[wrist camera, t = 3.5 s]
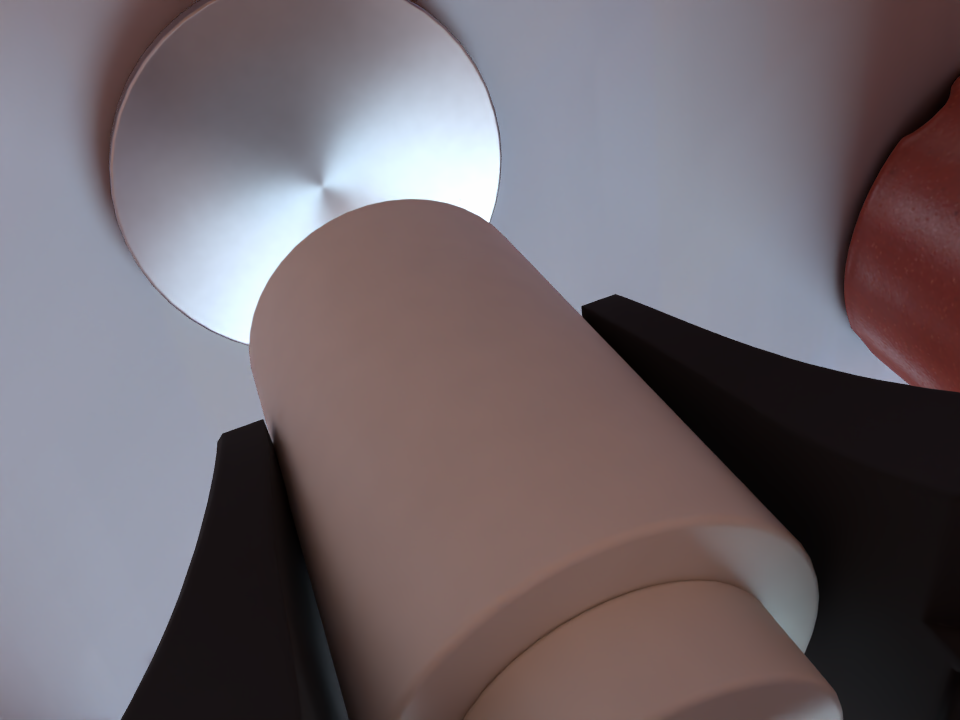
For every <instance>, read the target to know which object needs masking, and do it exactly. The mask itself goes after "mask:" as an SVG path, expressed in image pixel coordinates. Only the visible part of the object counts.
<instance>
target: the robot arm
mask: <svg viewBox="0 0 960 720" xmlns="http://www.w3.org/2000/svg"><path fill="white" fill-rule="evenodd" d="M582 317H583V318H584V319H585V320H586V321H587V322H588V323H589V324H590V325H591V327H592V328H593V329H594V330H595V331H596V332H597V333H598V334H599V335H600V336H601V337H602V338H603V339H604V340H605V341H606V342H607V343H608V344H609V345H610V346H611V347H612V348H613V349H614V350H615V351H616V352H617V353H618V355H619V356H620V357H621V358H622V359H623V360H624V361H625V362H626V363H627V364H628V365H629V366H630V367H631V368H632V369H633V370H634V371H635V372H636V373H637V374H638V375H639V376H640V377H641V378H642V379H643V380H644V381H645V382H646V384H647V385H648V386H649V387H650V388H651V389H652V390H653V391H654V392H655V393H656V394H657V395H658V396H659V397H660V398H661V399H662V400H663V401H664V402H665V403H666V404H667V405H668V406H669V407H670V408H671V409H672V410H673V411H674V413H675V414H676V415H677V416H678V417H679V418H680V419H681V420H682V421H683V422H684V423H685V424H686V425H687V426H688V427H689V428H690V429H691V430H692V431H693V432H694V433H695V434H696V435H697V436H698V437H699V438H700V439H701V440H702V442H703V443H704V444H705V445H706V446H707V447H708V448H709V449H710V450H711V451H712V452H713V453H714V454H715V455H716V456H717V457H718V458H719V459H720V460H721V461H722V462H723V463H724V464H725V465H726V466H727V467H728V468H729V470H730V471H731V472H732V473H733V474H734V475H735V476H736V477H737V478H738V479H739V480H740V481H741V482H742V483H743V484H744V485H745V486H746V487H747V488H748V489H749V490H750V491H751V492H752V493H753V494H754V495H755V496H756V497H757V499H758V500H759V501H760V502H761V503H762V504H763V505H764V506H765V507H766V508H767V509H768V510H769V511H770V512H771V513H772V514H773V515H774V516H775V517H776V518H777V519H778V520H779V521H780V522H781V523H782V524H783V525H784V526H785V528H786V529H787V530H788V531H789V532H790V533H791V534H792V535H793V536H794V537H795V538H796V539H797V540H798V541H799V542H800V543H801V544H802V546H803V547H804V549H805V551H806V552H807V554H808V555H809V557H810V559H811V562H812V565H813V568H814V571H815V574H816V577H817V580H818V590H819V603H818V613H817V618H816V622H815V626H814V630H813V633H812V636H811V639H810V641H809V644H808V646H807V648H806V651H805V653H804V654H805V656H806V657H807V658H808V659H809V660H810V662H811V663H812V664H813V665H814V666H815V667H816V669H817V670H818V671H819V672H820V673H821V675H822V676H823V677H824V678H825V679H826V681H827V682H828V683H829V684H830V685H831V687H832V688H833V689H834V691H835V692H836V693H837V696H838V699H839V701H840V704H841V707H842V711H843V720H960V392H954V391H946V390H938V389H930V388H923V387H917V386H911V385H905V384H900V383H894V382H888V381H882V380H876V379H871V378H866V377H862V376H857V375H852V374H848V373H844V372H840V371H836V370H832V369H827V368H823V367H819V366H815V365H811V364H807V363H804V362H800V361H797V360H793V359H790V358H787V357H783V356H780V355H777V354H774V353H771V352H768V351H765V350H762V349H758V348H755V347H752V346H749V345H747V344H744V343H741V342H738V341H735V340H732V339H730V338H727V337H724V336H721V335H719V334H716V333H714V332H711V331H708V330H706V329H703V328H701V327H698V326H695V325H693V324H690V323H688V322H685V321H683V320H680V319H678V318H675V317H673V316H670V315H668V314H665V313H663V312H661V311H658V310H656V309H653V308H651V307H648V306H646V305H643V304H641V303H638V302H635V301H633V300H630V299H628V298H625V297H622V296H619V295H616V294H615V295H612V296H609V297H606V298H603V299H600V300H598V301H595V302H592V303H589V304H586V305H584V306H582ZM121 720H349V718H348V715H347V711H346V707H345V704H344V700H343V697H342V693H341V689H340V686H339V682H338V679H337V675H336V671H335V668H334V664H333V661H332V657H331V654H330V650H329V646H328V643H327V639H326V636H325V632H324V628H323V625H322V621H321V618H320V614H319V610H318V607H317V603H316V600H315V596H314V592H313V589H312V585H311V582H310V578H309V574H308V571H307V567H306V564H305V560H304V556H303V553H302V549H301V546H300V542H299V538H298V535H297V531H296V528H295V524H294V520H293V517H292V513H291V510H290V506H289V501H288V497H287V492H286V488H285V484H284V481H283V477H282V473H281V470H280V466H279V463H278V459H277V456H276V452H275V448H274V445H273V442H272V440H271V437H270V435H269V433H268V430H267V428H266V425H265V423H264V420H263V419H262V420H260V421H257V422H254V423H251V424H248V425H246V426H243V427H240V428H237V429H234V430H231V431H229V432H226V433H223V434H222V436H221V437H220V439H219V441H218V443H217V454H216V461H215V468H214V474H213V479H212V484H211V489H210V494H209V498H208V503H207V507H206V510H205V514H204V518H203V522H202V526H201V530H200V533H199V537H198V541H197V544H196V548H195V551H194V554H193V557H192V560H191V563H190V566H189V569H188V572H187V575H186V577H185V580H184V583H183V586H182V589H181V592H180V595H179V598H178V600H177V603H176V605H175V608H174V610H173V613H172V616H171V618H170V620H169V623H168V625H167V628H166V630H165V632H164V634H163V637H162V639H161V641H160V643H159V646H158V648H157V650H156V652H155V654H154V657H153V659H152V661H151V663H150V665H149V667H148V669H147V671H146V673H145V675H144V677H143V679H142V681H141V683H140V685H139V686H138V688H137V690H136V692H135V694H134V696H133V698H132V700H131V702H130V704H129V706H128V708H127V709H126V711H125V713H124V715H123V717H122V719H121Z"/></svg>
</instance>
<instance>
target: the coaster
mask: <svg viewBox="0 0 960 720" xmlns="http://www.w3.org/2000/svg"><path fill="white" fill-rule="evenodd" d="M109 172H110V187H111V196H112V201H113V205H114V210H115V214H116V219H117V222H118V224H119V227H120V230H121V232H122V235H123V238H124V240H125V243H126V245H127V247H128V249H129V250H130V252H131V254H132V256H133V258H134V259H135V261H136V263H137V265H138V267H139V268H140V269H141V271H142V272H143V273H144V275H145V276H146V277H147V279H148V280H149V281H150V283H151V284H152V285H153V287H154V288H155V289H156V290H157V291H158V292H159V293H160V294H161V295H162V296H163V297H164V298H165V299H166V300H167V301H168V302H169V303H170V304H171V305H173V306H174V307H175V308H177V309H178V310H179V311H180V312H182V313H183V314H184V315H186V316H187V317H188V318H189V319H191V320H193V321H194V322H196V323H198V324H199V325H201V326H203V327H205V328H206V329H208V330H210V331H211V332H214V333H216V334H218V335H221V336H223V337H225V338H228V339H230V340H232V341H235V342H239V343H242V344H245V345H249V340H250V329H251V324H252V319H253V314H254V312H255V309H256V306H257V303H258V300H259V298H260V295H261V293H262V291H263V290H264V288H265V286H266V284H267V282H268V280H269V278H270V277H271V276H272V274H273V273H274V271H275V270H276V268H277V267H278V266H279V264H280V263H281V261H282V260H283V259H284V258H285V257H286V256H287V255H288V254H289V253H290V252H291V251H292V249H293V248H294V247H295V246H296V245H298V244H299V243H300V242H301V241H302V240H304V239H305V238H306V237H307V236H308V235H309V234H311V233H312V232H313V231H315V230H316V229H318V228H320V227H321V226H323V225H324V224H326V223H327V222H329V221H331V220H333V219H335V218H337V217H339V216H341V215H343V214H345V213H347V212H349V211H352V210H355V209H358V208H361V207H364V206H366V205H370V204H375V203H379V202H384V201H390V200H401V199H425V200H433V201H439V202H444V203H449V204H452V205H455V206H458V207H461V208H464V209H466V210H468V211H470V212H472V213H474V214H476V215H478V216H480V217H482V218H483V219H484V220H486V221H487V222H489V223H490V221H491V218H492V215H493V211H494V208H495V205H496V201H497V195H498V190H499V184H500V175H501V143H500V132H499V127H498V122H497V117H496V112H495V109H494V106H493V103H492V100H491V97H490V94H489V91H488V88H487V86H486V84H485V82H484V80H483V78H482V76H481V74H480V72H479V70H478V68H477V66H476V65H475V63H474V62H473V60H472V59H471V57H470V56H469V55H468V53H467V52H466V50H465V49H464V47H463V46H462V45H461V43H460V42H459V41H458V40H457V39H456V38H455V37H454V36H453V35H452V34H451V32H450V31H449V30H448V29H447V28H446V27H445V26H444V25H443V24H441V23H440V22H439V21H438V20H437V19H435V18H434V17H433V16H432V15H431V14H429V13H428V12H427V11H426V10H425V9H423V8H421V7H420V6H418V5H416V4H415V3H413V2H411V1H410V0H200V1H199V2H197V3H196V4H194V5H193V6H191V7H190V8H188V9H187V10H185V11H184V12H182V13H181V14H180V15H179V16H178V17H177V18H176V19H174V20H173V21H172V22H171V23H170V24H169V25H168V26H167V27H166V28H165V29H164V30H163V31H161V32H160V33H159V35H158V36H157V37H156V38H155V40H154V41H153V42H152V43H151V45H150V46H149V47H148V48H147V50H146V51H145V52H144V53H143V55H142V56H141V58H140V59H139V61H138V63H137V65H136V66H135V68H134V70H133V71H132V73H131V75H130V77H129V78H128V80H127V83H126V85H125V88H124V90H123V93H122V95H121V98H120V100H119V103H118V105H117V109H116V113H115V118H114V122H113V126H112V131H111V139H110V152H109Z"/></svg>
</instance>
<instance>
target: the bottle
mask: <svg viewBox="0 0 960 720" xmlns="http://www.w3.org/2000/svg"><path fill="white" fill-rule="evenodd" d="M249 354H250V363H251V369H252V373H253V377H254V380H255V384H256V387H257V391H258V395H259V398H260V402H261V405H262V409H263V413H264V416H265V420H266V423H267V427H268V430H269V434H270V437H271V440H272V442H273V445H274V448H275V452H276V456H277V459H278V463H279V466H280V470H281V473H282V477H283V481H284V484H285V488H286V492H287V497H288V501H289V506H290V510H291V513H292V517H293V520H294V524H295V528H296V531H297V535H298V538H299V542H300V546H301V549H302V553H303V556H304V560H305V564H306V567H307V571H308V574H309V578H310V582H311V585H312V589H313V592H314V596H315V600H316V603H317V607H318V610H319V614H320V618H321V621H322V625H323V628H324V632H325V636H326V639H327V643H328V646H329V650H330V654H331V657H332V661H333V664H334V668H335V671H336V675H337V679H338V682H339V686H340V689H341V693H342V697H343V700H344V704H345V707H346V711H347V715H348V718H349V720H843V711H842V707H841V704H840V701H839V699H838V696H837V693H836V692H835V691H834V689H833V688H832V687H831V685H830V684H829V683H828V682H827V681H826V679H825V678H824V677H823V676H822V675H821V673H820V672H819V671H818V670H817V669H816V667H815V666H814V665H813V664H812V663H811V662H810V660H809V659H808V658H807V657H806V656H805V654H804V653H805V651H806V648H807V646H808V644H809V641H810V639H811V636H812V633H813V630H814V626H815V622H816V618H817V613H818V603H819V590H818V580H817V577H816V574H815V571H814V568H813V565H812V562H811V559H810V557H809V555H808V554H807V552H806V551H805V549H804V547H803V546H802V544H801V543H800V542H799V541H798V540H797V539H796V538H795V537H794V536H793V535H792V534H791V533H790V532H789V531H788V530H787V529H786V528H785V526H784V525H783V524H782V523H781V522H780V521H779V520H778V519H777V518H776V517H775V516H774V515H773V514H772V513H771V512H770V511H769V510H768V509H767V508H766V507H765V506H764V505H763V504H762V503H761V502H760V501H759V500H758V499H757V497H756V496H755V495H754V494H753V493H752V492H751V491H750V490H749V489H748V488H747V487H746V486H745V485H744V484H743V483H742V482H741V481H740V480H739V479H738V478H737V477H736V476H735V475H734V474H733V473H732V472H731V471H730V470H729V468H728V467H727V466H726V465H725V464H724V463H723V462H722V461H721V460H720V459H719V458H718V457H717V456H716V455H715V454H714V453H713V452H712V451H711V450H710V449H709V448H708V447H707V446H706V445H705V444H704V443H703V442H702V440H701V439H700V438H699V437H698V436H697V435H696V434H695V433H694V432H693V431H692V430H691V429H690V428H689V427H688V426H687V425H686V424H685V423H684V422H683V421H682V420H681V419H680V418H679V417H678V416H677V415H676V414H675V413H674V411H673V410H672V409H671V408H670V407H669V406H668V405H667V404H666V403H665V402H664V401H663V400H662V399H661V398H660V397H659V396H658V395H657V394H656V393H655V392H654V391H653V390H652V389H651V388H650V387H649V386H648V385H647V384H646V382H645V381H644V380H643V379H642V378H641V377H640V376H639V375H638V374H637V373H636V372H635V371H634V370H633V369H632V368H631V367H630V366H629V365H628V364H627V363H626V362H625V361H624V360H623V359H622V358H621V357H620V356H619V355H618V353H617V352H616V351H615V350H614V349H613V348H612V347H611V346H610V345H609V344H608V343H607V342H606V341H605V340H604V339H603V338H602V337H601V336H600V335H599V334H598V333H597V332H596V331H595V330H594V329H593V328H592V327H591V325H590V324H589V323H588V322H587V321H586V320H585V319H584V318H583V317H582V316H581V315H580V314H579V313H578V312H577V311H576V310H575V309H574V308H573V307H572V306H571V305H570V304H569V303H568V302H567V301H566V300H565V299H564V298H563V296H562V295H561V294H560V293H559V292H558V291H557V290H556V289H555V288H554V287H553V286H552V285H551V284H550V283H549V282H548V281H547V280H546V279H545V278H544V277H543V276H542V275H541V274H540V273H539V272H538V271H537V270H536V269H535V267H534V266H533V265H532V264H531V263H530V262H529V261H528V260H527V259H526V258H525V257H524V256H523V255H522V254H521V253H520V252H519V251H518V250H517V249H516V248H515V247H514V246H513V245H512V244H511V243H510V242H509V241H508V239H507V238H506V237H505V236H503V235H502V234H501V233H500V232H499V231H498V230H497V229H496V228H495V227H494V226H493V225H491V224H490V223H489V222H487V221H486V220H484V219H483V218H482V217H480V216H478V215H476V214H474V213H472V212H470V211H468V210H466V209H464V208H461V207H458V206H455V205H452V204H449V203H444V202H439V201H433V200H425V199H401V200H390V201H384V202H379V203H375V204H370V205H366V206H364V207H361V208H358V209H355V210H352V211H349V212H347V213H345V214H343V215H341V216H339V217H337V218H335V219H333V220H331V221H329V222H327V223H326V224H324V225H323V226H321V227H320V228H318V229H316V230H315V231H313V232H312V233H311V234H309V235H308V236H307V237H306V238H305V239H304V240H302V241H301V242H300V243H299V244H298V245H296V246H295V247H294V248H293V249H292V251H291V252H290V253H289V254H288V255H287V256H286V257H285V258H284V259H283V260H282V261H281V263H280V264H279V266H278V267H277V268H276V270H275V271H274V273H273V274H272V276H271V277H270V278H269V280H268V282H267V284H266V286H265V288H264V290H263V291H262V293H261V295H260V298H259V300H258V303H257V306H256V309H255V312H254V314H253V319H252V324H251V329H250V340H249Z"/></svg>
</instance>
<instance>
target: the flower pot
mask: <svg viewBox="0 0 960 720" xmlns="http://www.w3.org/2000/svg"><path fill="white" fill-rule="evenodd" d="M844 298H845V306H846V312H847V316H848V319H849V322H850V325H851V328H852V329H853V330H854V332H855V333H856V334H857V335H858V336H859V337H860V338H861V339H862V340H863V342H864V343H865V344H866V346H867V347H868V348H869V349H870V351H871V352H872V353H873V354H874V355H875V356H876V357H877V358H878V359H880V360H881V361H882V362H883V363H884V364H885V365H886V366H888V367H889V368H890V369H891V370H892V371H894V372H895V373H896V374H897V375H898V376H900V377H901V378H902V379H903V380H904V381H906V382H907V383H908V384H909V385H911V386H917V387H923V388H930V389H938V390H946V391H954V392H960V77H958V78H957V79H956V80H955V82H954V83H953V84H952V86H951V92H950V97H949V99H948V101H947V103H946V104H945V105H944V107H943V108H942V109H941V110H940V111H939V112H938V113H937V114H936V115H935V116H934V117H933V118H932V119H930V120H929V121H928V122H927V123H926V124H924V125H923V126H922V127H920V128H919V129H917V130H916V131H914V132H913V133H911V134H909V135H907V136H905V137H903V138H902V139H901V140H900V141H899V143H898V144H897V145H896V147H895V148H894V150H893V151H892V153H891V154H890V156H889V157H888V159H887V160H886V162H885V163H884V165H883V167H882V168H881V170H880V172H879V174H878V176H877V177H876V179H875V181H874V183H873V185H872V187H871V189H870V191H869V193H868V195H867V197H866V200H865V202H864V204H863V207H862V209H861V212H860V214H859V217H858V220H857V223H856V226H855V228H854V232H853V235H852V239H851V242H850V246H849V250H848V255H847V261H846V267H845V277H844Z"/></svg>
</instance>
